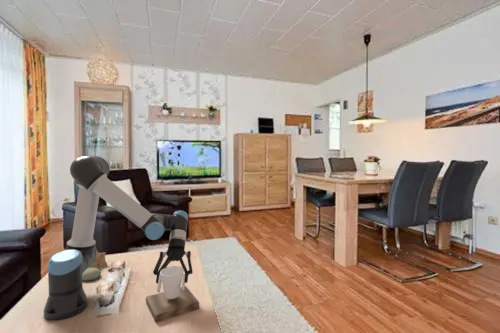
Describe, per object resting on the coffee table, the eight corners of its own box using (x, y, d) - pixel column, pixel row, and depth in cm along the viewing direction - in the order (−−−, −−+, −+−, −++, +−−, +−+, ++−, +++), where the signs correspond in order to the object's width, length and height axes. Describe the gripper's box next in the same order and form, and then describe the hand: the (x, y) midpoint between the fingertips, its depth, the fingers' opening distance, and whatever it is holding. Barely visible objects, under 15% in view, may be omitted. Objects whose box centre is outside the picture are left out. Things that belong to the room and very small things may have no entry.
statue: (90, 244, 161) (104, 240, 159) (97, 266, 161) (110, 263, 158) (73, 251, 149) (87, 247, 147) (80, 275, 149) (94, 272, 147)
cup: (177, 303, 109) (177, 277, 109) (155, 300, 111) (155, 274, 111) (187, 291, 119) (187, 267, 118) (167, 288, 121) (167, 265, 120)
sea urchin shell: (95, 268, 147) (100, 261, 144) (100, 281, 144) (104, 274, 140) (77, 274, 140) (81, 266, 137) (81, 287, 137) (85, 280, 133)
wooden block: (155, 322, 104) (155, 315, 103) (146, 303, 117) (146, 296, 117) (199, 308, 113) (199, 301, 113) (185, 292, 127) (185, 286, 127)
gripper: (201, 244, 131) (197, 292, 116) (154, 245, 128) (145, 294, 113) (200, 237, 125) (196, 286, 110) (151, 237, 123) (141, 288, 108)
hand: (170, 290), depth 112 cm, fingers closed on cup, 9 cm apart
